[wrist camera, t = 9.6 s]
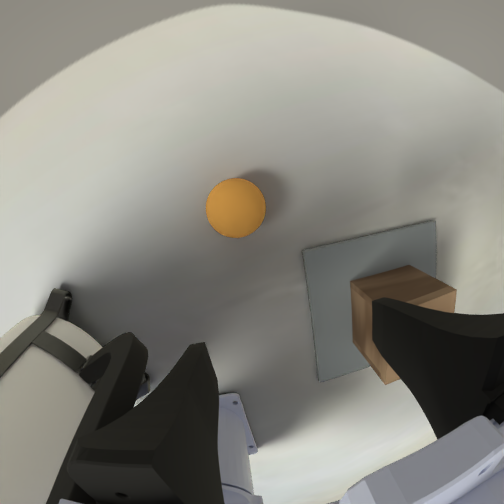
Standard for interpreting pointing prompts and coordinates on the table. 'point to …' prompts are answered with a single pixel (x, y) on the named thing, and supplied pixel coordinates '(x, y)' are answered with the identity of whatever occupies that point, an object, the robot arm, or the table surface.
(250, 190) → the orange ball
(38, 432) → the coffee press
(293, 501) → the table surface
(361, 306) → the wooden grain cube
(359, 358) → the slate mat
